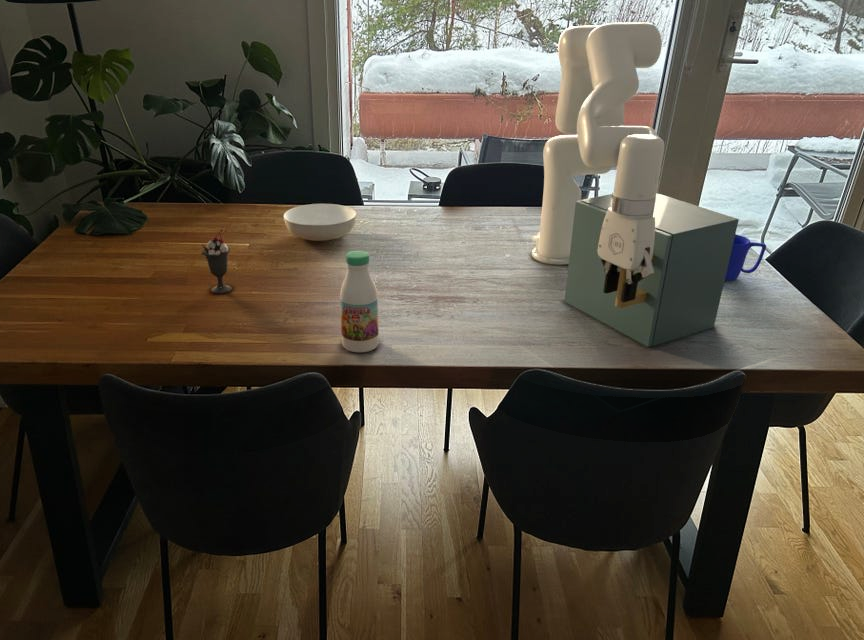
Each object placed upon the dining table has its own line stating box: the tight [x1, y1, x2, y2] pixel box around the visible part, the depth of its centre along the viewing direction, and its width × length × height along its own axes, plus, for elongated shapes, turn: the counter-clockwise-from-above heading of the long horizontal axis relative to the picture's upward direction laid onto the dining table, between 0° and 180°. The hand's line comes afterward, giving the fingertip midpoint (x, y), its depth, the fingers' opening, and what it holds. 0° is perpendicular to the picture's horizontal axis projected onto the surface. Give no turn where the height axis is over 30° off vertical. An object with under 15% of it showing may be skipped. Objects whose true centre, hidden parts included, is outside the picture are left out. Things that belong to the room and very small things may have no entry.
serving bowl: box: [283, 203, 357, 242], centre depth 208 cm, size 21×21×7 cm
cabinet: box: [580, 192, 740, 347], centre depth 155 cm, size 18×26×24 cm
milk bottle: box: [339, 250, 380, 353], centre depth 145 cm, size 8×8×20 cm
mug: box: [724, 234, 767, 282], centre depth 176 cm, size 8×12×10 cm
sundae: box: [201, 229, 233, 295], centre depth 173 cm, size 7×7×15 cm
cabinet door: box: [563, 201, 672, 348], centre depth 150 cm, size 8×26×24 cm, turn 28°
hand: (619, 295), depth 141 cm, fingers open, 4 cm apart
